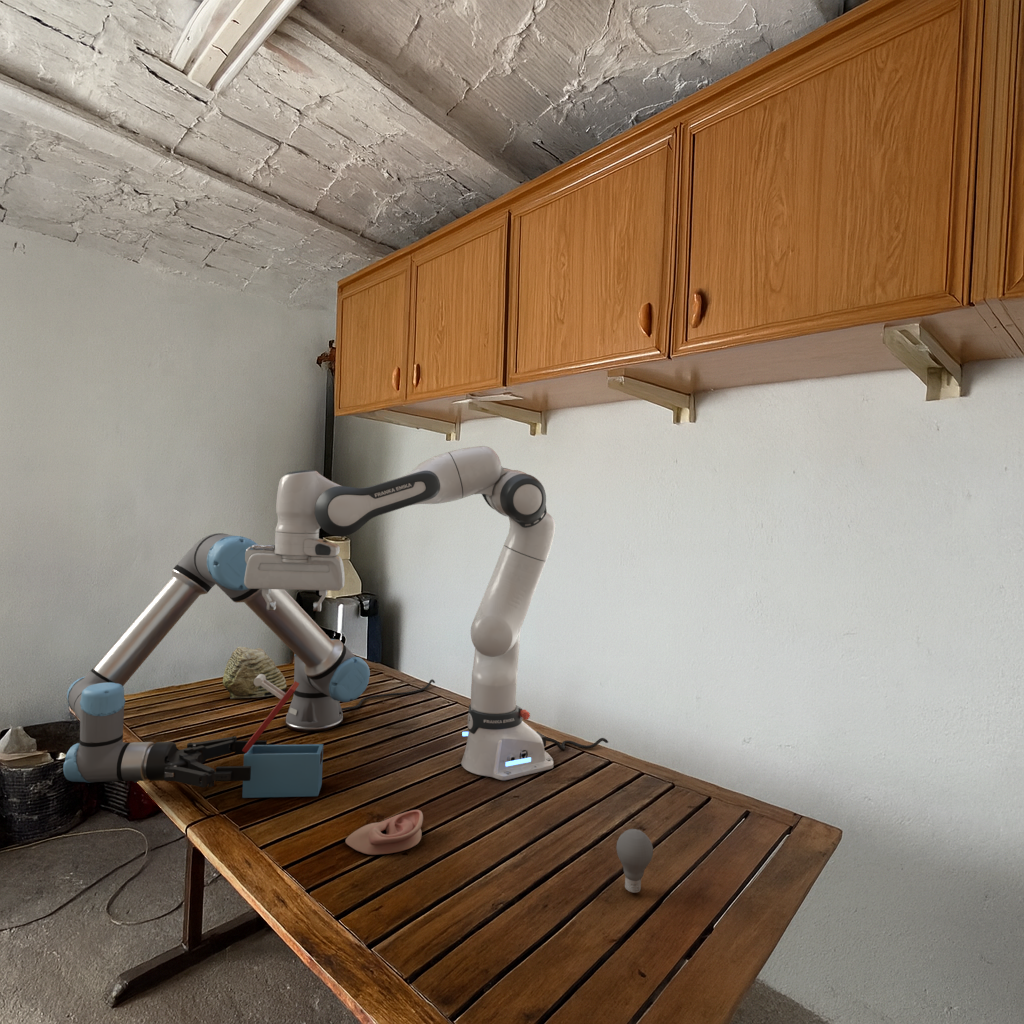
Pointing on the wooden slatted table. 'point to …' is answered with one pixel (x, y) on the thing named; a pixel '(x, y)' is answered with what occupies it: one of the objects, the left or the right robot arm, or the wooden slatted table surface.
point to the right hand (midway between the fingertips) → (294, 610)
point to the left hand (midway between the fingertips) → (258, 759)
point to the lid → (284, 697)
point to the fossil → (251, 673)
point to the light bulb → (634, 857)
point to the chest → (283, 770)
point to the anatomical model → (388, 834)
